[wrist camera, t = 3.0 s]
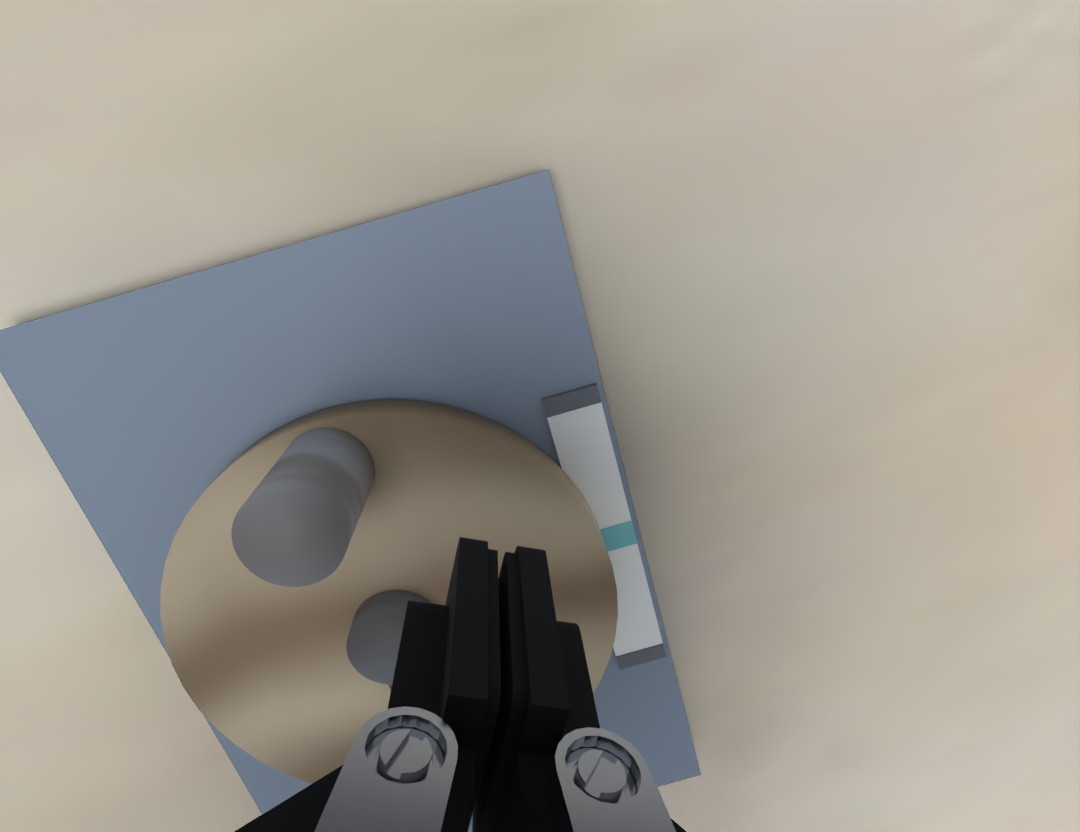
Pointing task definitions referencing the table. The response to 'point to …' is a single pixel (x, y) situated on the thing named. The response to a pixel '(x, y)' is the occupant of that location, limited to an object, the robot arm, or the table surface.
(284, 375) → the blue-grey base board
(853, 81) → the table surface
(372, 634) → the crank wheel
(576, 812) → the robot arm
